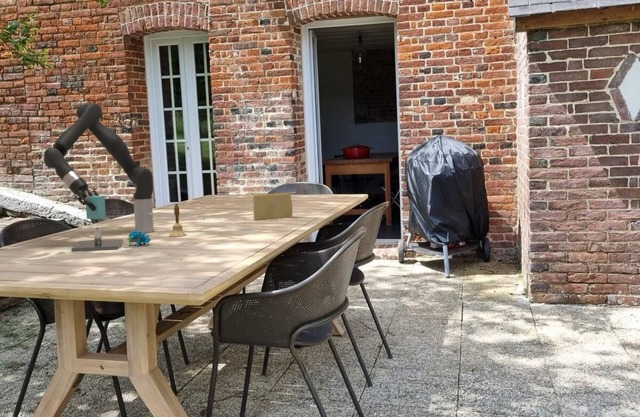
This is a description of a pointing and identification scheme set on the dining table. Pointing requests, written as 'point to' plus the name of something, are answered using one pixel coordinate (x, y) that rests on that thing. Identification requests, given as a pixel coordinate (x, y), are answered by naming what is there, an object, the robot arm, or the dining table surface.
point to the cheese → (272, 206)
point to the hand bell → (177, 225)
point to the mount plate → (99, 246)
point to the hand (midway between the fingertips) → (99, 208)
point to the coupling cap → (100, 207)
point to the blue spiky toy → (138, 237)
